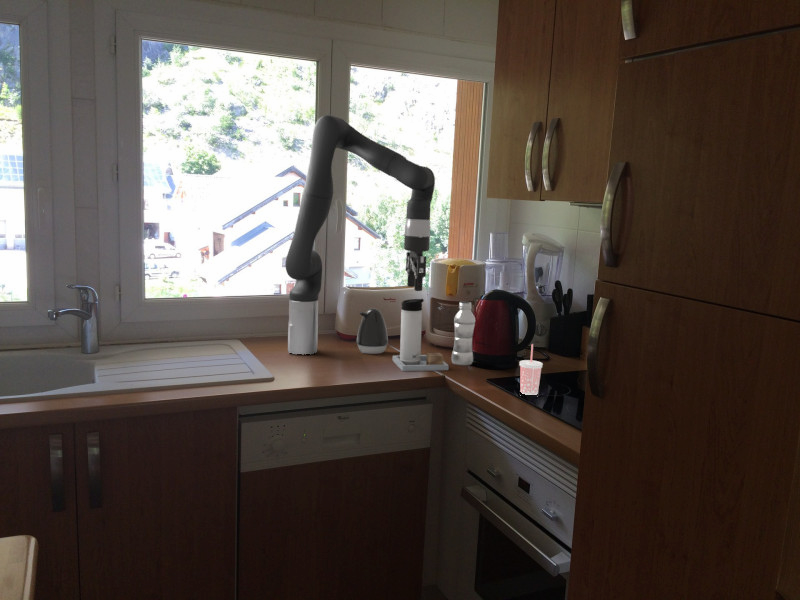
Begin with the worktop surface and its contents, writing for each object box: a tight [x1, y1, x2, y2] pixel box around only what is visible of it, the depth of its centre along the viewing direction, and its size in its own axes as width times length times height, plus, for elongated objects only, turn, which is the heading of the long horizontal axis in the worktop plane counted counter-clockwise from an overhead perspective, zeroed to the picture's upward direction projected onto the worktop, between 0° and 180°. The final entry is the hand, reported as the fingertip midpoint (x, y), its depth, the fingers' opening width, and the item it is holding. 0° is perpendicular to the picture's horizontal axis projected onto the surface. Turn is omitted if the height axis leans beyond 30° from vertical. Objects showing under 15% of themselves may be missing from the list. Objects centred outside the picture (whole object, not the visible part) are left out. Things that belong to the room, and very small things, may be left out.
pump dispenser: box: [356, 307, 389, 355], centre depth 219 cm, size 10×10×15 cm
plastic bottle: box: [451, 301, 476, 366], centre depth 207 cm, size 6×7×20 cm
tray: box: [392, 354, 449, 372], centre depth 203 cm, size 14×13×2 cm
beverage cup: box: [519, 343, 544, 395], centre depth 178 cm, size 6×6×14 cm
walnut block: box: [426, 352, 444, 365], centre depth 201 cm, size 4×4×4 cm
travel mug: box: [399, 298, 425, 365], centre depth 203 cm, size 6×7×20 cm
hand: (414, 288), depth 201 cm, fingers open, 8 cm apart
